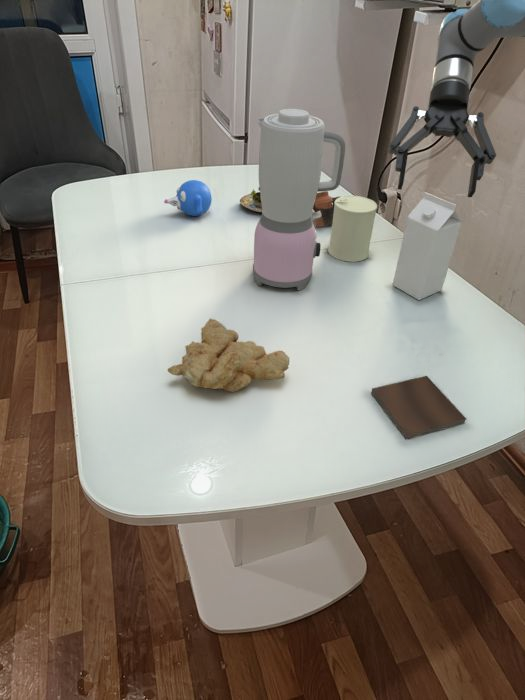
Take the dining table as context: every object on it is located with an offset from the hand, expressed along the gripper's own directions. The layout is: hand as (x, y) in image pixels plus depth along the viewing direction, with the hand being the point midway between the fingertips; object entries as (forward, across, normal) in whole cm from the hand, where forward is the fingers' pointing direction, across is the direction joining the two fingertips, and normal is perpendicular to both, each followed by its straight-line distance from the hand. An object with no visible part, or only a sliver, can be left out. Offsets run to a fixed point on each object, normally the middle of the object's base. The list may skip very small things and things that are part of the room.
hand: (435, 190), depth 100 cm
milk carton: (+18, 0, -7) cm, 19 cm away
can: (+10, +15, -15) cm, 24 cm away
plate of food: (-4, +39, -29) cm, 48 cm away
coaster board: (+44, +1, +19) cm, 48 cm away
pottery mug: (-1, +23, -26) cm, 35 cm away
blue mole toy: (+4, +56, -22) cm, 60 cm away
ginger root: (+44, +31, +19) cm, 57 cm away
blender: (+20, +26, -4) cm, 33 cm away
